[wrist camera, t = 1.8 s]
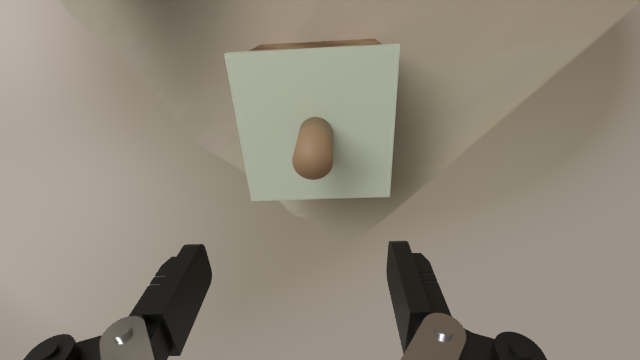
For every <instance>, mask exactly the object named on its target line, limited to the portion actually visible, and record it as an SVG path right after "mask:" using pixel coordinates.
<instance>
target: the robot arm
mask: <svg viewBox="0 0 640 360" xmlns="http://www.w3.org/2000/svg"><path fill="white" fill-rule="evenodd" d="M211 279H212V271H211V267H210V264H209V260H208V256H207V252H206V249H205V246H204V245H203V244H192V245H191V244H190V245H184V246H183V247H182V249H181V251H180V252H179V254H178V255H177V257H171V258H170V259H169V260H168V261H167V262H165V263H164V264H163V265H162V266H161V267H160V269H159V270H158V272H157V273H156V275H155V277H154V278H153V280H152V281H151V283H150V286H148V287H147V289H146V290H145V292H144V294H143V295H142V297H141V298H140V300H139V301H138V303H137V304H136V306H135V307H134V309H133V311H132V312H131V314H130V315H129V316H128V317H125V318H122V319H120V320H118V321H116V322H115V323H113V324H112V325H111V326H110V327H108V328H107V329H106V331H105V332H104V333H103V335H102V336H98V337H95V338H91V339H88V340H84V341H81V342H77V343H76V342H75V340H74V339H73V337H72V336H70V335H67V334H62V335H57V336H53V337H51V338H49V339H47V340H45V341H43V342H41V343H40V344H38V345H37V346H36V347H35V348H33V349H32V350H31V351H30V352H29V354H28V355H27V356H26V357H25V358H24V360H167V358H168V356H180V354H181V352H182V350H183V347H184V345H185V343H186V340H187V338H188V335H189V333H190V331H191V328H192V326H193V324H194V322H195V319H196V317H197V315H198V312H199V310H200V307H201V305H202V303H203V300H204V298H205V296H206V293H207V291H208V289H209V286H210V284H211ZM387 281H388V286H389V291H390V295H391V299H392V304H393V309H394V313H395V318H396V322H397V327H398V331H399V336H400V340H401V345H402V349H403V354H404V355H403V357H402V358H401V360H547V359H546V357H545V355H544V354H543V352H542V350H541V349H540V348H539V347H538V346H537V345H536V344H535V343H534V342H533V341H532V340H530V339H529V338H527V337H525V336H523V335H521V334H518V333H515V332H502V333H500V334H499V335H497V337H496V338H495V339H492V338H489V337H485V336H481V335H478V334H474V333H472V332H470V331H468V330H466V329H464V328H463V326H462V325H461V324H460V323H459V322H458V321H457V320H456V319H454V318H453V317H452V316H451V314H450V311H449V309H448V306H447V304H446V301H445V299H444V296H443V294H442V292H441V289H440V287H439V284H438V283H437V280H436V277H435V274H434V272H433V270H432V267H431V264H430V262H429V261H428V260H427V259H426V258H425V257H424V256H423V255H422V254H421V253H412V252H411V249H410V246H409V244H408V242H407V241H390V242H389V246H388V258H387Z"/></svg>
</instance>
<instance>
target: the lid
mask: <svg viewBox="0 0 640 360" xmlns="http://www.w3.org/2000/svg"><path fill="white" fill-rule="evenodd" d="M399 55H400V44H379V45H360V46H340V47H321V48H302V49H282V50H263V51H244V52H227V53H225V54H224V56H225V62H226V67H227V73H228V78H229V83H230V89H231V94H232V100H233V105H234V110H235V116H236V121H237V127H238V132H239V137H240V143H241V148H242V153H243V159H244V164H245V170H246V175H247V180H248V186H249V191H250V197H251V201H262V200H300V199H336V198H372V197H390V189H391V174H392V159H393V144H394V129H395V114H396V100H397V85H398V70H399Z"/></svg>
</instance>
